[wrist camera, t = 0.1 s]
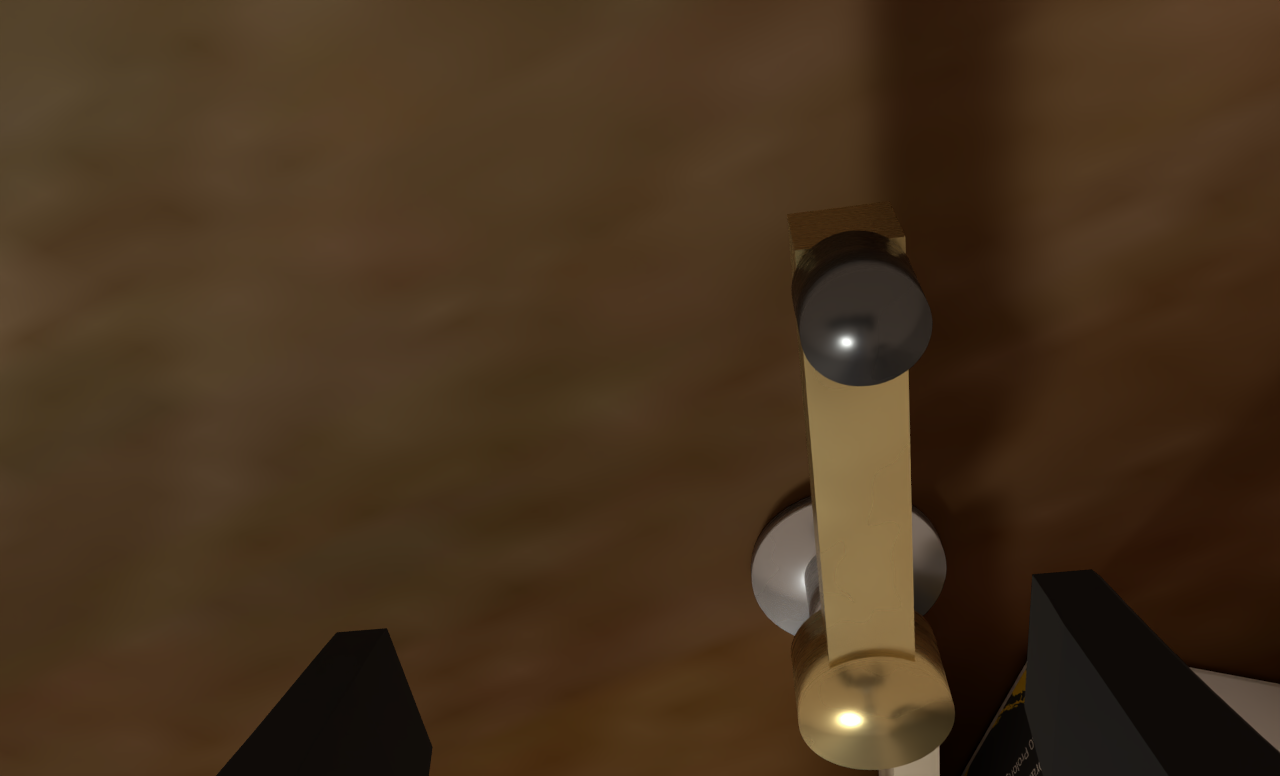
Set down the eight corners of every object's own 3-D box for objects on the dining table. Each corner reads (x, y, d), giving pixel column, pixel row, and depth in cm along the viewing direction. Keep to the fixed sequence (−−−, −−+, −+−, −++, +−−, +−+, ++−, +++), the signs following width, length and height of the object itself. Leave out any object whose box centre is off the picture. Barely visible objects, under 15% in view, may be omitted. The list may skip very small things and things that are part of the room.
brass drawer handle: (936, 695, 22) (968, 817, 19) (796, 705, 22) (810, 827, 20) (932, 178, 16) (978, 257, 13) (741, 203, 16) (750, 285, 14)
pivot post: (943, 625, 25) (966, 704, 22) (759, 640, 25) (766, 718, 23) (942, 479, 22) (968, 551, 20) (741, 498, 23) (746, 571, 21)
